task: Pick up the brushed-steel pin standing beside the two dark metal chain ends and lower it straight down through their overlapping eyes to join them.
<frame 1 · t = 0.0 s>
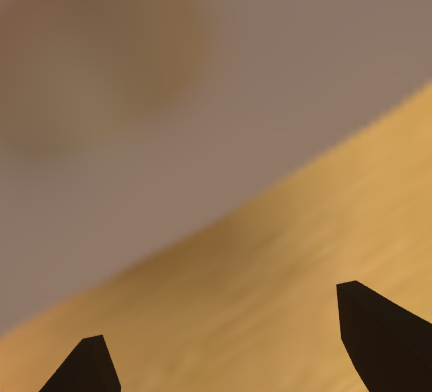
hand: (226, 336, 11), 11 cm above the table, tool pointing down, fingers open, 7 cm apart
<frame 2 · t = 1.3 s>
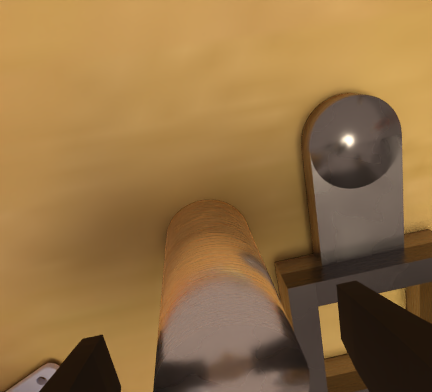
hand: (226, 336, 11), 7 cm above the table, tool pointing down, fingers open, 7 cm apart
steel pin: (208, 238, 18), on the table
chain ends: (357, 311, 20), on the table
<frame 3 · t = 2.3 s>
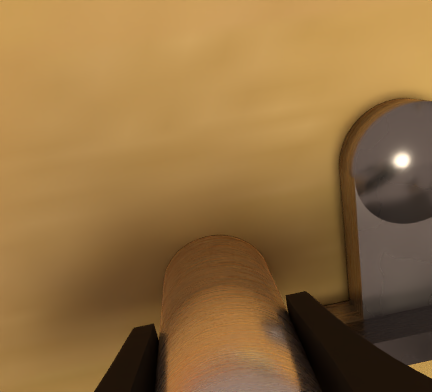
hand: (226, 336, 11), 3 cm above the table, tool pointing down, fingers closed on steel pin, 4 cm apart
steel pin: (217, 283, 14), on the table, touching gripper
chain ends: (400, 367, 16), on the table
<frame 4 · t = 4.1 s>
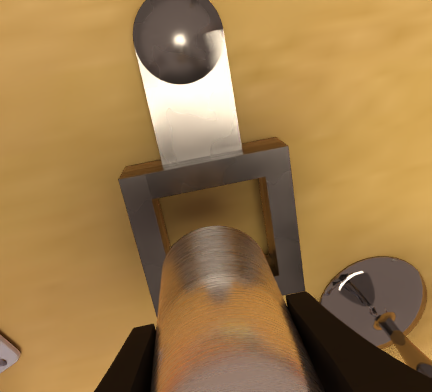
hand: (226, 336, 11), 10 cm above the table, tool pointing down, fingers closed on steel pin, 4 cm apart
steel pin: (214, 274, 14), point 7 cm above the table, touching gripper
chain ends: (214, 220, 21), on the table
wine glass: (371, 304, 24), on the table
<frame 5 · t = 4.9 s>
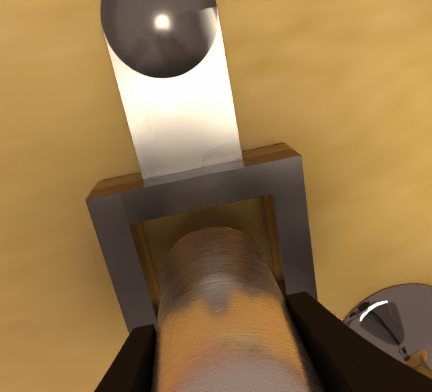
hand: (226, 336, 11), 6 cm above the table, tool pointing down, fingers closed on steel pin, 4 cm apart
steel pin: (215, 274, 14), point 3 cm above the table, touching gripper
chain ends: (209, 244, 17), on the table
wine glass: (396, 338, 20), on the table
when the fingers open (3 cm above the table, at t = 5.8 s): steel pin stays where it is, resting in chain ends.
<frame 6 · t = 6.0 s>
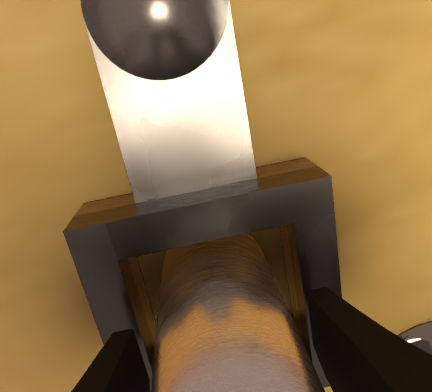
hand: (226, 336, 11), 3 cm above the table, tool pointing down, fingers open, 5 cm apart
steel pin: (214, 270, 14), resting in chain ends
chain ends: (216, 276, 15), on the table
wine glass: (430, 379, 18), on the table
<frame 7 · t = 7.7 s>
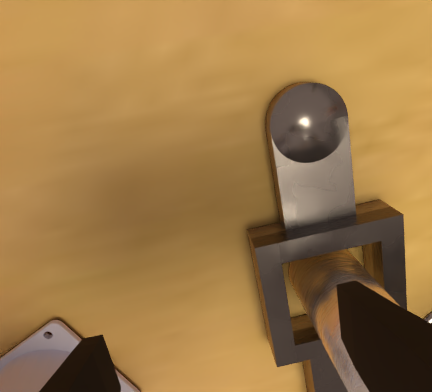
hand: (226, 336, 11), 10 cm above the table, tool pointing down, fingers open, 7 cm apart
steel pin: (320, 269, 23), resting in chain ends
chain ends: (321, 273, 23), on the table
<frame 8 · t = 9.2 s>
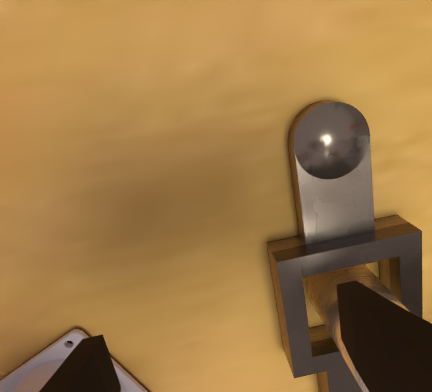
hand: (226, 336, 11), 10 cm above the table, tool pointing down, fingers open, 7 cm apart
steel pin: (336, 282, 23), resting in chain ends
chain ends: (337, 285, 24), on the table
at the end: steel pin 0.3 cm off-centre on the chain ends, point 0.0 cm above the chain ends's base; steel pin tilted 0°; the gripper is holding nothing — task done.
